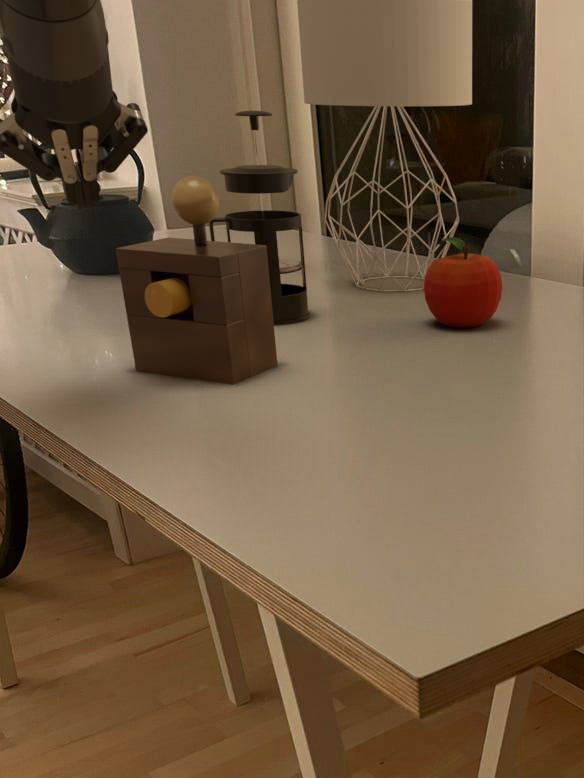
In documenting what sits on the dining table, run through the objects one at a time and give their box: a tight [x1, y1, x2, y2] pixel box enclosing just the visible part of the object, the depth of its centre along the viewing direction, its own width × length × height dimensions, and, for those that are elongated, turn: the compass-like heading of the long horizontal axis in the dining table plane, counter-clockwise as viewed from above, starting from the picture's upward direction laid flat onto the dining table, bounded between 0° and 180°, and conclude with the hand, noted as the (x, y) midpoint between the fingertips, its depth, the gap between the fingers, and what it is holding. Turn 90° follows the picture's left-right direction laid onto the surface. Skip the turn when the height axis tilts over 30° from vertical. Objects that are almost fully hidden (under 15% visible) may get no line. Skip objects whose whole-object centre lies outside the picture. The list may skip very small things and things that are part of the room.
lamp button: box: [145, 278, 191, 318], centre depth 95 cm, size 3×3×3 cm
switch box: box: [115, 175, 278, 385], centre depth 98 cm, size 8×12×18 cm, turn 67°
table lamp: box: [296, 0, 473, 292], centre depth 134 cm, size 22×22×40 cm
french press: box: [208, 110, 311, 326], centre depth 118 cm, size 12×9×23 cm
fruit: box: [423, 236, 503, 329], centre depth 119 cm, size 10×10×10 cm
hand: (82, 201), depth 92 cm, fingers closed
